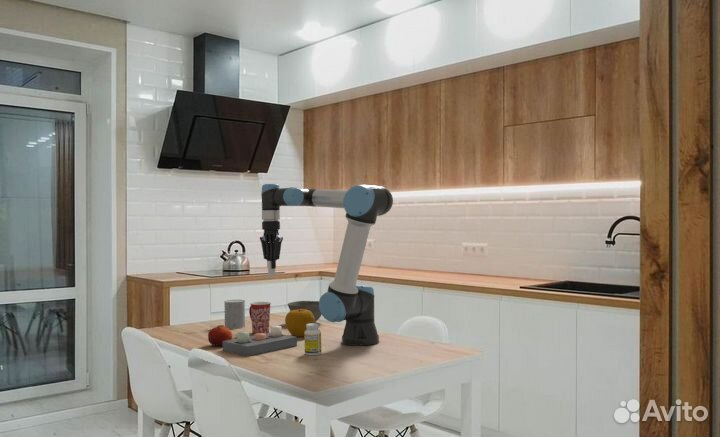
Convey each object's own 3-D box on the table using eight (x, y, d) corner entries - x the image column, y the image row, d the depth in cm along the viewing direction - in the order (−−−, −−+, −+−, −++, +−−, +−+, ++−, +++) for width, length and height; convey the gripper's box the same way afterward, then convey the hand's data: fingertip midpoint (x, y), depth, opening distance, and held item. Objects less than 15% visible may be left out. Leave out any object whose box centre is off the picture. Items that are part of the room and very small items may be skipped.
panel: (296, 345, 241) (296, 336, 241) (247, 356, 223) (247, 346, 223) (271, 340, 252) (271, 332, 252) (222, 350, 234) (222, 341, 234)
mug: (275, 333, 268) (274, 302, 269) (257, 335, 263) (257, 304, 263) (260, 329, 278) (259, 300, 278) (242, 332, 272) (242, 302, 272)
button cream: (283, 336, 243) (283, 326, 243) (275, 338, 240) (275, 328, 240) (276, 335, 246) (276, 325, 246) (268, 336, 243) (268, 326, 243)
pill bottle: (312, 351, 230) (312, 322, 230) (324, 353, 226) (324, 323, 226) (301, 354, 225) (300, 324, 225) (313, 356, 221) (312, 326, 221)
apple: (280, 338, 257) (280, 311, 257) (291, 332, 270) (291, 306, 270) (309, 339, 254) (309, 311, 254) (319, 333, 267) (318, 307, 267)
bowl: (334, 321, 296) (334, 301, 296) (311, 328, 280) (311, 306, 280) (303, 319, 306) (303, 299, 306) (279, 324, 290) (279, 304, 290)
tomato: (236, 343, 247) (235, 323, 247) (225, 348, 238) (224, 327, 238) (215, 342, 249) (215, 323, 249) (204, 347, 241) (203, 327, 241)
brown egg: (268, 344, 237) (268, 333, 237) (259, 345, 234) (259, 335, 234) (261, 342, 240) (261, 332, 240) (252, 344, 237) (252, 334, 237)
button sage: (251, 342, 232) (251, 332, 232) (242, 344, 228) (241, 334, 228) (244, 341, 235) (244, 331, 235) (235, 343, 231) (235, 332, 231)
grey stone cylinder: (220, 328, 283) (220, 302, 283) (230, 324, 292) (230, 299, 292) (239, 329, 280) (238, 302, 280) (248, 325, 289) (248, 299, 289)
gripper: (287, 220, 254) (288, 276, 254) (268, 220, 263) (269, 274, 263) (273, 220, 249) (274, 277, 249) (254, 220, 258) (255, 276, 258)
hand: (271, 276), depth 256 cm, fingers closed
